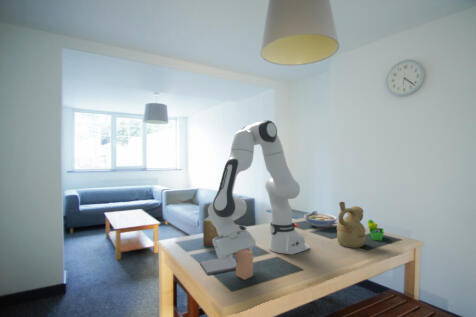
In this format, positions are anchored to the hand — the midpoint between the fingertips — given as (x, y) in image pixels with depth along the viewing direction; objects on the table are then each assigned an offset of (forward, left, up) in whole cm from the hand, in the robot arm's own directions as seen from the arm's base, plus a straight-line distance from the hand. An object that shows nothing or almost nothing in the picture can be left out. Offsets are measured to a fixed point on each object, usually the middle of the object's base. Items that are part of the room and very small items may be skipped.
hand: (244, 262), depth 104 cm
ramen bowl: (-83, -46, -6) cm, 95 cm away
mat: (+6, -13, -6) cm, 16 cm away
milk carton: (-2, -44, -6) cm, 45 cm away
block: (0, 0, -6) cm, 6 cm away
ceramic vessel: (-72, -10, -6) cm, 73 cm away
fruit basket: (-96, -12, -6) cm, 97 cm away
